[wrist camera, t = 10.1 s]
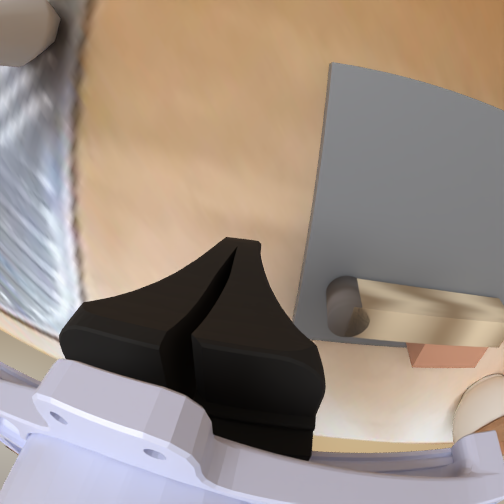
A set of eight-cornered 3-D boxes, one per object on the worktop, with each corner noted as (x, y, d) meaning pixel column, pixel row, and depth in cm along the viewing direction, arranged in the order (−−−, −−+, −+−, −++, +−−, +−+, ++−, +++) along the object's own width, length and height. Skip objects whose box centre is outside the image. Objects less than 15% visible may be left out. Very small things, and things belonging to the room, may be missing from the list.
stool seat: (477, 334, 24) (493, 374, 20) (292, 319, 26) (288, 366, 22) (553, 136, 14) (594, 156, 10) (329, 64, 16) (338, 58, 12)
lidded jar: (477, 417, 31) (490, 474, 23) (427, 409, 31) (438, 478, 23) (533, 367, 26) (557, 427, 18) (489, 352, 25) (517, 425, 17)
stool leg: (322, 304, 22) (323, 334, 19) (330, 273, 20) (333, 302, 18) (485, 322, 21) (498, 348, 18) (499, 297, 19) (514, 322, 17)
